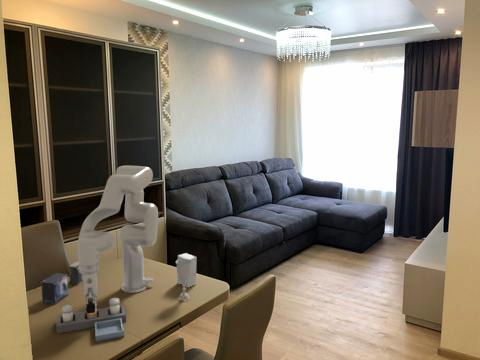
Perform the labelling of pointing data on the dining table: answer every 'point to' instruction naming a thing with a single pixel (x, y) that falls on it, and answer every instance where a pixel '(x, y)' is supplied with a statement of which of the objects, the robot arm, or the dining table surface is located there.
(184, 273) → the chalice
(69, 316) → the fuse
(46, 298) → the small box
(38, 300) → the dining table surface
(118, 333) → the tray
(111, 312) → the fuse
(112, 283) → the dining table surface
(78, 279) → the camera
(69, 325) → the fuse block
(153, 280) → the robot arm
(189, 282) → the skincare box
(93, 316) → the white striped cylinder
